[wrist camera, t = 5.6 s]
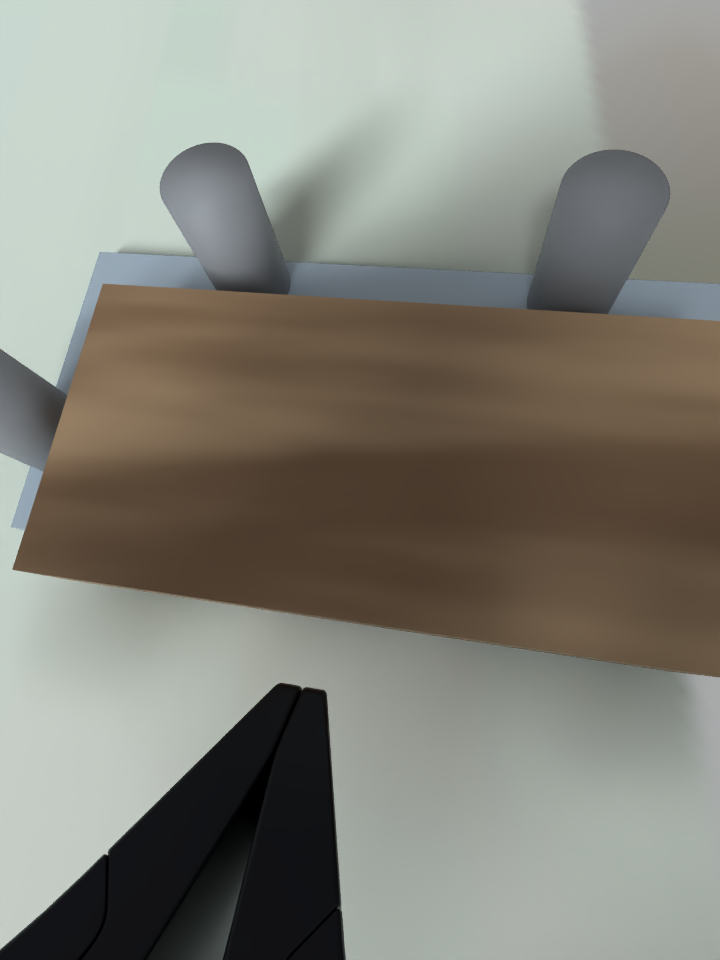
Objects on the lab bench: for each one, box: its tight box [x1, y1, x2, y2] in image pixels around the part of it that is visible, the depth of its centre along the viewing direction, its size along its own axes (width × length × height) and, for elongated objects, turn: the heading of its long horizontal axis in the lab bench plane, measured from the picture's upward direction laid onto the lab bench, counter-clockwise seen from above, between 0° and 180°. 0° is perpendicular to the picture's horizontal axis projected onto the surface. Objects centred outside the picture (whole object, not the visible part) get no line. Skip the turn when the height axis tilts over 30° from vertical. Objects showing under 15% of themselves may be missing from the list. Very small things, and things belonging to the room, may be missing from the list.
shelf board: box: [13, 284, 720, 677], centre depth 14 cm, size 3×16×8 cm
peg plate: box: [0, 143, 720, 531], centre depth 15 cm, size 10×23×5 cm, turn 82°
